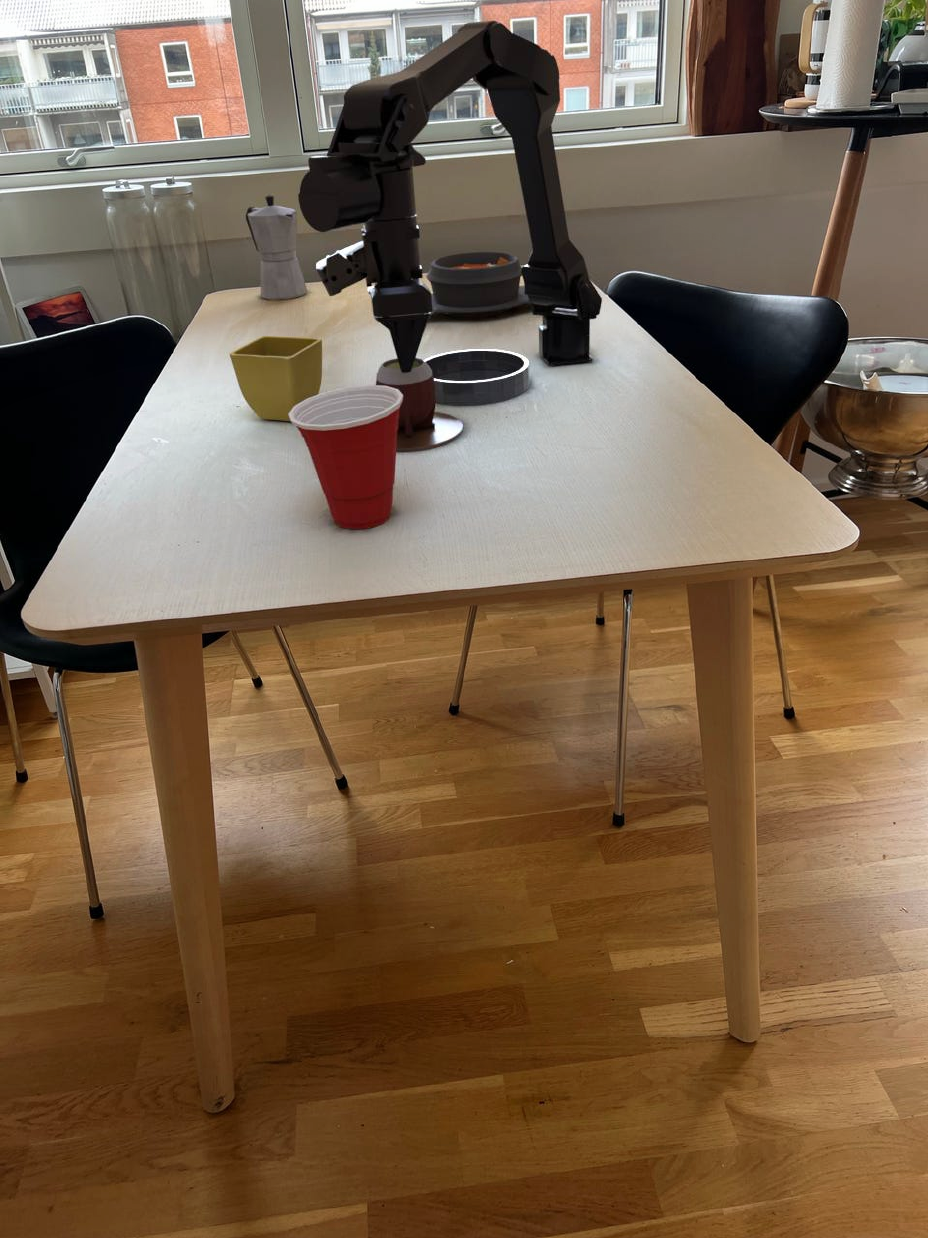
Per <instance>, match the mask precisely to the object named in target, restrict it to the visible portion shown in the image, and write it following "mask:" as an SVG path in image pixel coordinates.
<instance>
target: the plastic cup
mask: <svg viewBox="0 0 928 1238" xmlns="http://www.w3.org/2000/svg"><path fill="white" fill-rule="evenodd" d="M402 401H403V395H402V393H401V392H400V391H399V390H398V389H395V388H392V387H388V386H380V385H376V384H374V385H373V384H364V385H354V386H353V385H352V386H346V387H340V388H337V389H331V390H328V391H325V392H322V393H318V395H316V396H313V397H310V398H307V399H306V400H304V401H302V402H301V403H299V404H297V405H296V406H294V407H293V409H292V410H291V411H290V412H289V414H288V415H289V417H290V420H291V421H290V422H291V423H292V425H293V426H295V427H296V428H297V429H298V431H299V433H300V435H301V437H302V438H303V440H304V443H305V445H306V447H307V450H308V452H309V455H310V458H311V460H312V461H311V462H312V464H313V466H314V469H315V473H316V475H317V478H318V481H319V483H320V486H321V490H322V493H323V495H324V496H325V499H326V502H327V505H328V509H329V512H330V515H331V517H332V519H333V520H334V523H335V525H337V526H339V527H340V528H344V529H349V530H365V529H370V528H374V527H377V526H380V525H383V524H384V523H386V522H387V521H388V520H389V519H390V517H391V515H392V509H393V502H394V501H393V500H394V499H393V498H394V485H395V482H396V481H395V480H396V463H397V462H396V461H397V452H396V444H397V430H398V418H399V410H400V405H401V403H402Z"/></svg>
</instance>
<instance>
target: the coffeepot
mask: <svg viewBox="0 0 928 1238" xmlns="http://www.w3.org/2000/svg"><path fill="white" fill-rule="evenodd" d="M264 198H265V201H266V204H267V206H264V207H255V206H249V207H248V208H247V210H246V213H245V221H246V224H247V227H248V229H249V232H250V235H251V238H252V241H253V244H254V245H255V249H256V251H257V252H259V253H260V258H261V261H260V296H261V297H262V299H264V300H271V301H279V300H289V299H296V298H300V297H302V296H305V295H306V294H307V293H308V288H307V286H306V282H305V278H304V274H303V272H302V268H301V265H300V262H299V259H298V258H297V254H296V253H297V252H296V249H297V248H298V220H297V219H298V218H297V217H298V214H297V213H298V212H297V210H295V209H293V208H289V207H284V206H279V205H274V204H275V196H274V195H271V194H269V195H266V196H264Z"/></svg>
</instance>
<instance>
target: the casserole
mask: <svg viewBox="0 0 928 1238" xmlns="http://www.w3.org/2000/svg"><path fill="white" fill-rule="evenodd" d="M522 267H523V266H521V263H520V260H519V257H518V256H517V255H514V254H510V253H504V252H495V251H494V252H493V251H477V252H465V253H456V254H451V255H446V256H443V257H442V256H441V257H439V258H437V259H434V260H433V261H431V263H430V265H429V271H428V272H427V274H426V275H425V278H426V279H427V280H428V281H429V283H430V286H431V287H430V288H431V291H432V292H431V296H432V309H433V308H434V307H437V309H436V310H435V311H434V312H433V313H432V314H446V315H449V316H454V317H458V318H459V317H460V318H482V317H489V316H495V315H498V314H501V313H504V312H507V311H509V310H511V309H512V308H515V307H520V306H522V305H529V304H530V302H529V297H528V295H525V286H524V285H520V283H521V277H522V274H521V270H522Z"/></svg>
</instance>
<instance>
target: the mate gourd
mask: <svg viewBox="0 0 928 1238" xmlns="http://www.w3.org/2000/svg"><path fill="white" fill-rule="evenodd" d="M436 309H437V307H434V308H433V309H432V310H433V311H432V312H431V315H433V314H434V313H433V312H434V311H435V310H436ZM424 360H425V359H422V358H418V357H416V358H415V361H414V364H413V367H412V370H411V372H408V373H402V372H401V369H400V366H399V362H398V359H397V357H396V358H392V359H389V360H386V361H384V362H383V363H381V364H380V366H379V368H378V370H377V372H376V376H375V385H380V386H388V387H392V388H395V389H398V390H399V391H400V392H401V393H402V395H403V401H402V403H401V405H400V410H399V418H398V430H397V431H405V434H406V438H412V437H413V430H422V429H434V428H435V423H433V417H434V412H436V406H437V405H436V404H437V403H436V396H435V382H434V377H433V374H432V370H431V368H430V367H429V365H428V364H427V363H426V362H425V361H424Z"/></svg>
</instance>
